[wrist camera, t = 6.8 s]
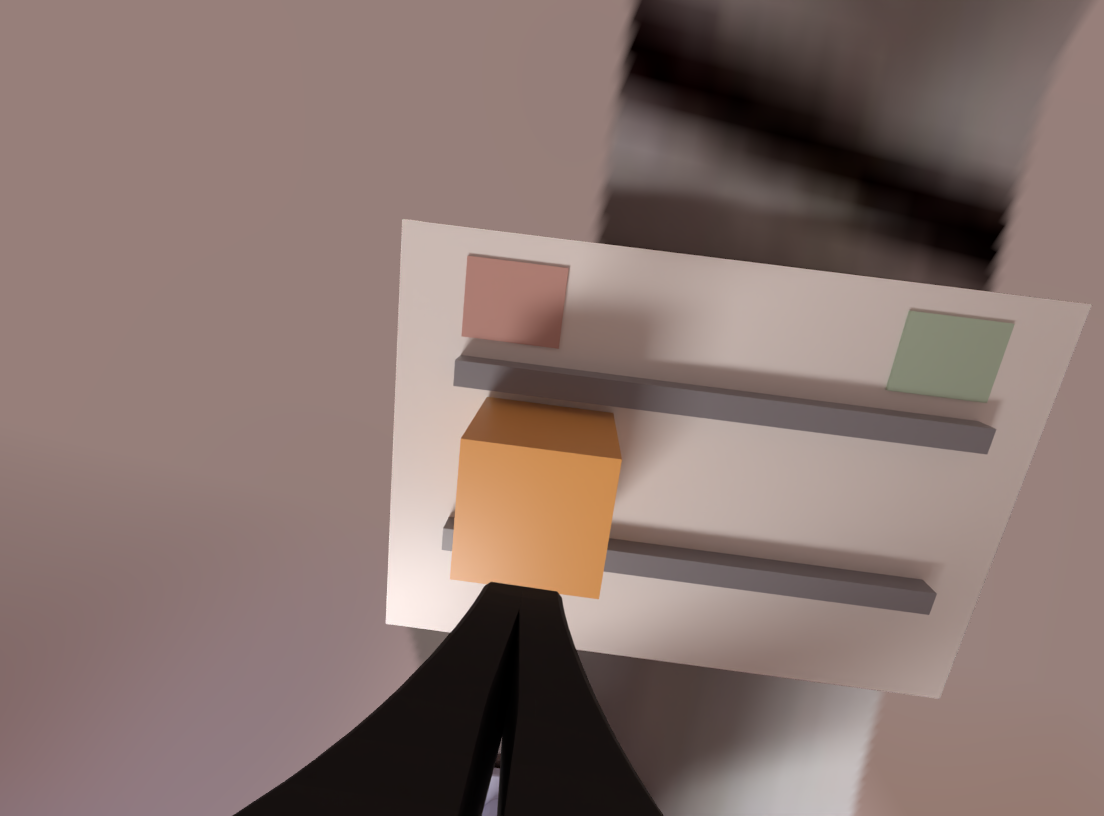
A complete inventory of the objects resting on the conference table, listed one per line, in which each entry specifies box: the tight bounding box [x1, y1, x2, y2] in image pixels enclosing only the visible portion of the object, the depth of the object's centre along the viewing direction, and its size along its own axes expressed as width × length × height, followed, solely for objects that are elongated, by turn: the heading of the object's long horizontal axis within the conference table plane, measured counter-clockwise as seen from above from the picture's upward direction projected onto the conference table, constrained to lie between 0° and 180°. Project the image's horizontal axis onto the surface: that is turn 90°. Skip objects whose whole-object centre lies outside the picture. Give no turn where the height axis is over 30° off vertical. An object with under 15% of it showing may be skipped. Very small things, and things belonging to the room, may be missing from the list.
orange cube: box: [450, 397, 622, 599], centre depth 16 cm, size 4×4×4 cm
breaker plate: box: [386, 219, 1092, 699], centre depth 19 cm, size 14×20×3 cm
